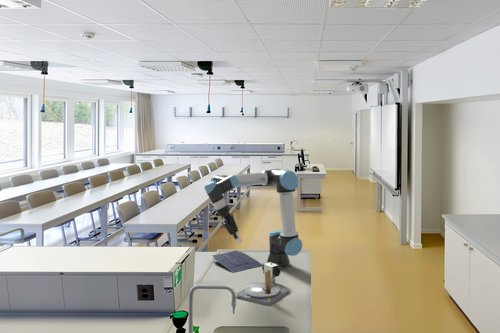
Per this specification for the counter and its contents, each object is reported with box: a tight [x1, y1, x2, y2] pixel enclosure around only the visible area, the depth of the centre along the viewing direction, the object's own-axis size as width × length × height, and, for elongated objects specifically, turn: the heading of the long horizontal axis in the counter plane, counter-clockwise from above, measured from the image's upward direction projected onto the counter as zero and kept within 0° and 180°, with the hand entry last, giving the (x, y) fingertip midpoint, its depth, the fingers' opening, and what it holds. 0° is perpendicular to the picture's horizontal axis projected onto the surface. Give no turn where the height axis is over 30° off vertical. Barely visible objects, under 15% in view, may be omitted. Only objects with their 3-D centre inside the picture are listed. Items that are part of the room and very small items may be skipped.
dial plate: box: [235, 282, 291, 306], centre depth 239 cm, size 22×22×2 cm
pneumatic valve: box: [261, 261, 281, 284], centre depth 257 cm, size 6×12×12 cm, turn 37°
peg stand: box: [244, 270, 281, 298], centre depth 238 cm, size 19×19×14 cm
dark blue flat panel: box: [211, 250, 263, 273], centre depth 295 cm, size 24×30×4 cm
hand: (239, 242), depth 253 cm, fingers closed
